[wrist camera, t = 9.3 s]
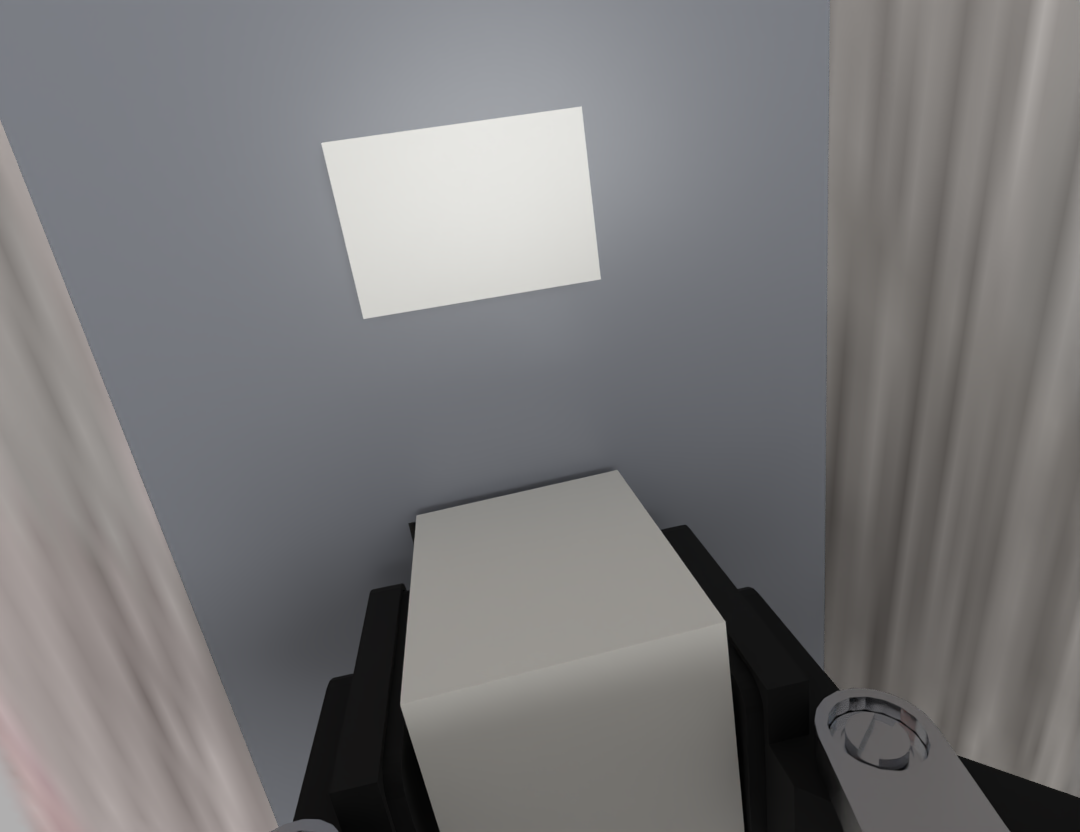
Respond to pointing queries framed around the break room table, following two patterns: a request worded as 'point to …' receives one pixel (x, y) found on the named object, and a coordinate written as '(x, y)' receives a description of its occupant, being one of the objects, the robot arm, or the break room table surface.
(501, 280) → the socket plate
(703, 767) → the plug
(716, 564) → the robot arm
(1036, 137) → the break room table surface
